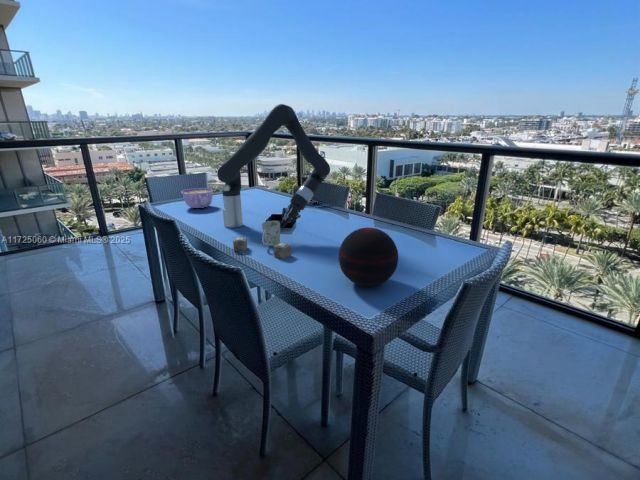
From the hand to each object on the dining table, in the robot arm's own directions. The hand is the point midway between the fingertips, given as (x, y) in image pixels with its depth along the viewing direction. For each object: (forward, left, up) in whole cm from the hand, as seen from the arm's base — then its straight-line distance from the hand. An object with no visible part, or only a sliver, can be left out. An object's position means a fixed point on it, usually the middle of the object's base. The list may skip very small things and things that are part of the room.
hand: (280, 227), depth 150 cm
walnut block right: (+7, -14, -8) cm, 18 cm away
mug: (-3, -4, -8) cm, 9 cm away
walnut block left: (-14, -12, -8) cm, 21 cm away
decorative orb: (+45, -29, -8) cm, 54 cm away
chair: (-16, +84, -8) cm, 86 cm away
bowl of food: (-80, +50, -8) cm, 95 cm away
